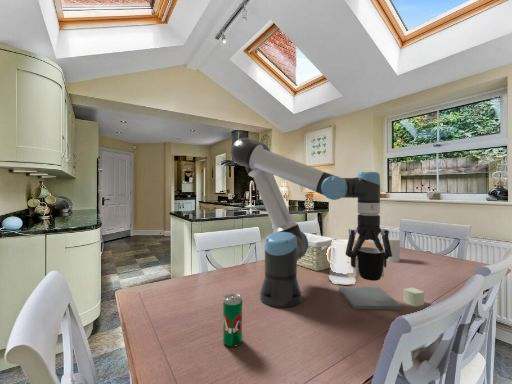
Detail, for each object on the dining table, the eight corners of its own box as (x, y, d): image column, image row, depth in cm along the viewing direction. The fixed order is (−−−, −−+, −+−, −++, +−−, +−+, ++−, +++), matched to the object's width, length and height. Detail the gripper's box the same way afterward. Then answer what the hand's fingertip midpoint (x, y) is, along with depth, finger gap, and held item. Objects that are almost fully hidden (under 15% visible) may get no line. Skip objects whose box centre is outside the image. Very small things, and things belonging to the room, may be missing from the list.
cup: (380, 258, 148) (380, 237, 148) (391, 257, 150) (391, 237, 150) (391, 262, 140) (391, 240, 140) (403, 261, 143) (403, 239, 142)
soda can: (243, 336, 70) (243, 293, 70) (241, 348, 65) (241, 301, 65) (224, 336, 71) (224, 292, 70) (221, 347, 66) (221, 301, 65)
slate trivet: (353, 308, 87) (353, 305, 87) (338, 289, 103) (338, 286, 103) (401, 309, 87) (401, 305, 87) (379, 290, 103) (379, 287, 103)
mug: (389, 279, 91) (390, 251, 91) (371, 283, 87) (372, 254, 87) (362, 269, 102) (362, 244, 101) (345, 273, 98) (345, 246, 98)
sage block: (414, 306, 89) (414, 293, 89) (403, 301, 93) (403, 289, 93) (424, 304, 90) (424, 292, 90) (412, 299, 94) (412, 287, 94)
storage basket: (283, 261, 142) (283, 234, 142) (303, 256, 152) (304, 231, 151) (316, 273, 123) (316, 242, 123) (338, 267, 132) (338, 238, 132)
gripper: (342, 215, 90) (342, 279, 91) (404, 215, 90) (403, 279, 91) (336, 213, 98) (335, 272, 98) (392, 213, 98) (392, 272, 98)
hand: (368, 275), depth 94 cm, fingers closed on mug, 9 cm apart
